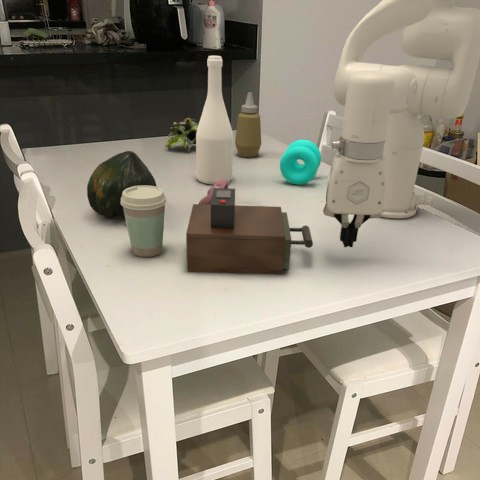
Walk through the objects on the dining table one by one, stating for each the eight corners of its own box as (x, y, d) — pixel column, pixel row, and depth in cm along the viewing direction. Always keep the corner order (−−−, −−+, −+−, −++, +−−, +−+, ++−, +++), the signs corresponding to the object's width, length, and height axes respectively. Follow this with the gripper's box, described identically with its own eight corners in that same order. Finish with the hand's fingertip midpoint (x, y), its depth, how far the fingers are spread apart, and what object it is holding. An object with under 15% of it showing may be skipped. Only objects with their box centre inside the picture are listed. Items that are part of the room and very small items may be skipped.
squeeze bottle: (231, 152, 166) (232, 90, 157) (255, 151, 169) (258, 89, 159) (239, 159, 160) (240, 95, 150) (264, 158, 162) (267, 94, 152)
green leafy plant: (190, 163, 174) (210, 131, 171) (192, 166, 164) (214, 132, 161) (160, 142, 170) (180, 109, 167) (161, 145, 160) (182, 109, 157)
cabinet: (278, 241, 111) (281, 206, 107) (282, 274, 98) (285, 236, 94) (193, 239, 111) (193, 203, 106) (187, 271, 98) (186, 233, 94)
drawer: (306, 239, 110) (308, 212, 107) (312, 269, 98) (316, 240, 95) (204, 236, 110) (204, 209, 106) (199, 266, 98) (199, 237, 95)
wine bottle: (237, 183, 141) (240, 58, 125) (203, 187, 138) (202, 59, 122) (224, 173, 148) (226, 53, 132) (192, 176, 145) (189, 54, 129)
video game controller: (212, 217, 125) (226, 193, 121) (195, 207, 124) (208, 182, 120) (222, 203, 133) (235, 179, 129) (206, 193, 132) (219, 169, 128)
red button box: (234, 210, 104) (235, 187, 102) (233, 228, 97) (234, 204, 94) (213, 209, 104) (213, 186, 102) (210, 227, 97) (210, 203, 94)
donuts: (277, 184, 142) (280, 146, 136) (284, 173, 150) (286, 136, 145) (315, 188, 140) (319, 149, 135) (319, 176, 148) (323, 140, 143)
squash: (69, 186, 120) (89, 144, 108) (126, 175, 129) (149, 135, 117) (98, 240, 118) (121, 203, 106) (153, 225, 127) (179, 190, 116)
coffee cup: (148, 238, 110) (144, 181, 104) (177, 250, 106) (175, 191, 99) (116, 251, 105) (109, 191, 98) (145, 264, 100) (141, 203, 94)
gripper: (320, 153, 90) (310, 251, 100) (409, 156, 90) (389, 254, 100) (316, 141, 96) (307, 235, 106) (399, 144, 96) (382, 237, 106)
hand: (347, 244), depth 103 cm, fingers closed
